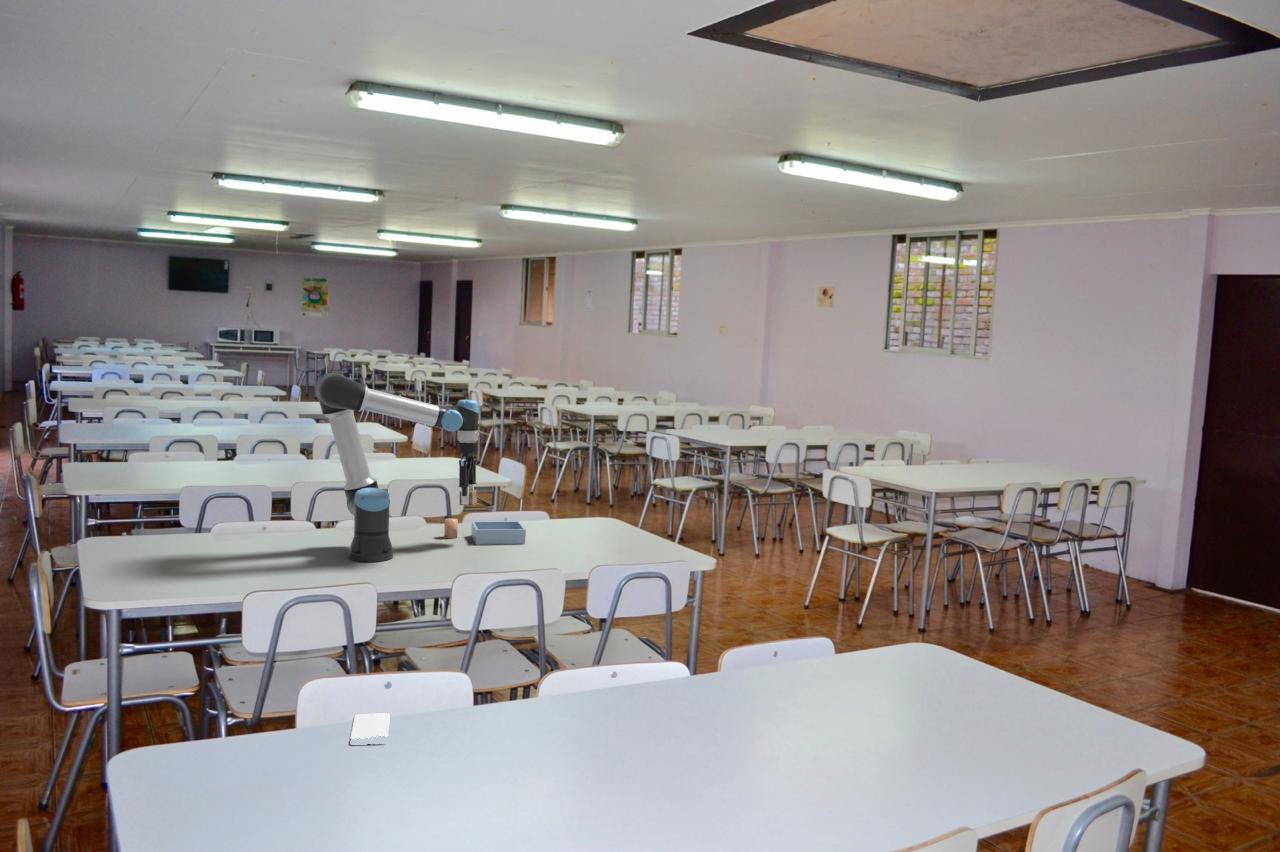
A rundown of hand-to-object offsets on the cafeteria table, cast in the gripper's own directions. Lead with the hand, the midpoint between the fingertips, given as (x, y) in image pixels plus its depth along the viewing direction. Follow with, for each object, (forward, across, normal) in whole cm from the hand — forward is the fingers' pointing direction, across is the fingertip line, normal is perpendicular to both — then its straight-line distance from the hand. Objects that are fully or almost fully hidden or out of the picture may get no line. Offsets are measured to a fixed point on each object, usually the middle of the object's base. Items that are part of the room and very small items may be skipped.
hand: (467, 502), depth 371 cm
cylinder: (+16, +8, +9) cm, 20 cm away
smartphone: (+15, -168, -35) cm, 173 cm away
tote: (+16, +10, -9) cm, 21 cm away
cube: (0, 0, 0) cm, 1 cm away
